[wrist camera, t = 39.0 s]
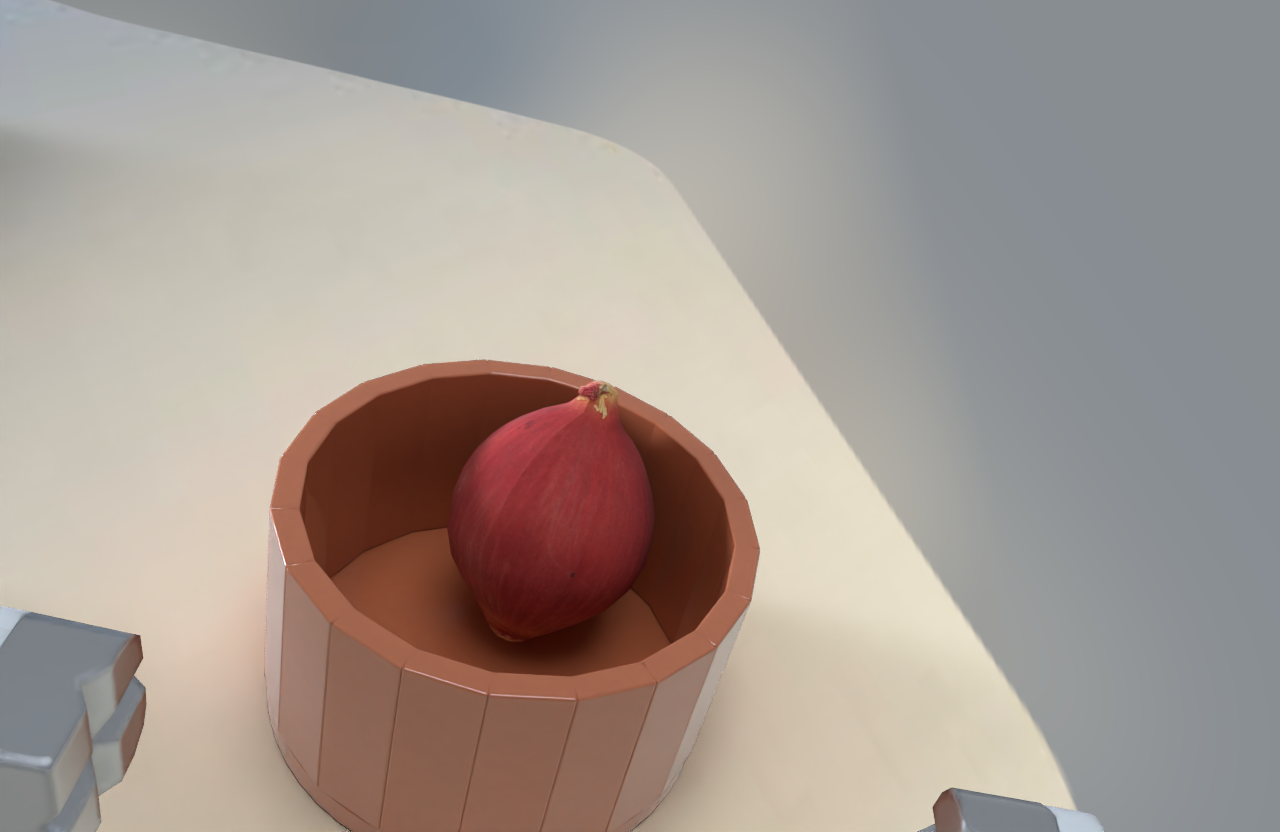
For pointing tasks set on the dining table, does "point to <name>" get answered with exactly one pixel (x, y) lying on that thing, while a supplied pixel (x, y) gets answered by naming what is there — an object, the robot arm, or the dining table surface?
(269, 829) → the dining table surface
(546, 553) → the onion
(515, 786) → the terracotta bowl
